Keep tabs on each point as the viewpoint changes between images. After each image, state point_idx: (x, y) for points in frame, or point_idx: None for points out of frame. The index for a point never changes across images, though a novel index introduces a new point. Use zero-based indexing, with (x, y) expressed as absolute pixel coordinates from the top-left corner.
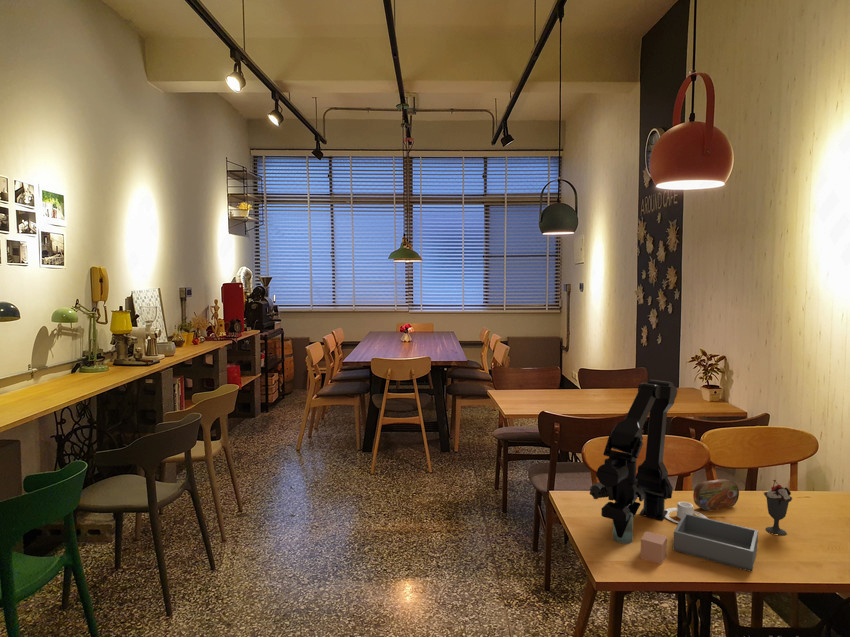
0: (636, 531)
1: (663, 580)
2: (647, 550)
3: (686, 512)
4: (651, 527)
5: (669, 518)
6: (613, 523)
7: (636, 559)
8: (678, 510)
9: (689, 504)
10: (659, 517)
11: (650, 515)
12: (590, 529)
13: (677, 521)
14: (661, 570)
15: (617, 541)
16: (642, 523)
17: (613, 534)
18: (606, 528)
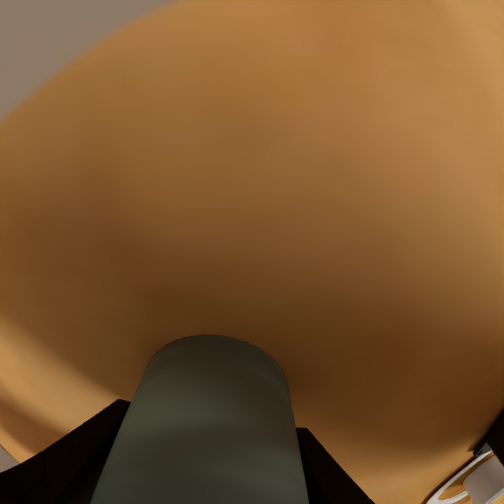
0: (367, 433)
1: (9, 452)
2: None
3: (473, 496)
4: (419, 455)
5: (476, 460)
6: (141, 445)
7: (41, 423)
8: (491, 479)
9: (496, 496)
10: (484, 447)
11: (498, 429)
12: (282, 119)
13: (455, 479)
14: None
15: (145, 370)
16: (457, 420)
17: (163, 366)
18: (366, 265)
